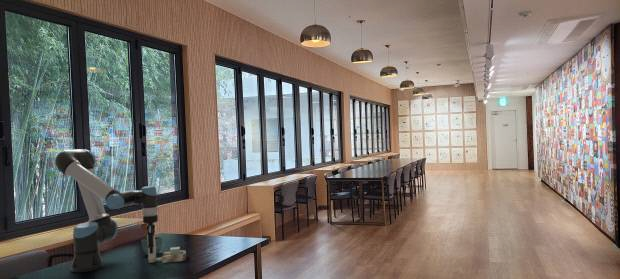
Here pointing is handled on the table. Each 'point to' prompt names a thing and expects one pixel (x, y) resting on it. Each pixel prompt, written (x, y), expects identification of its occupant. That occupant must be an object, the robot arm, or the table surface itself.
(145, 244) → the flower pot
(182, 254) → the beige u-shaped frame
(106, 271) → the table surface
